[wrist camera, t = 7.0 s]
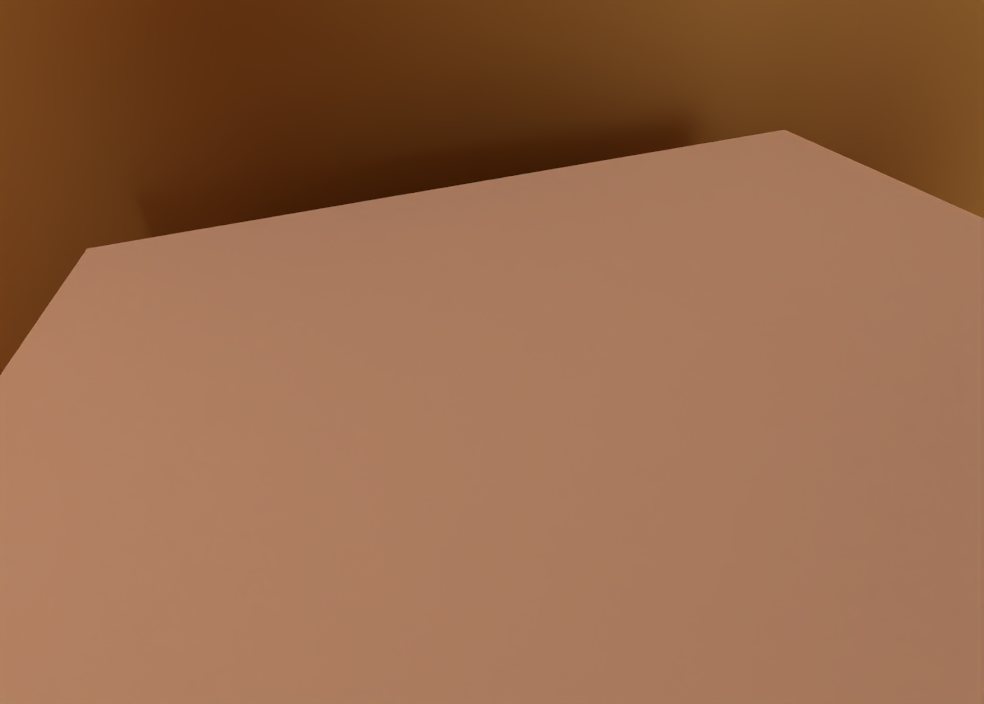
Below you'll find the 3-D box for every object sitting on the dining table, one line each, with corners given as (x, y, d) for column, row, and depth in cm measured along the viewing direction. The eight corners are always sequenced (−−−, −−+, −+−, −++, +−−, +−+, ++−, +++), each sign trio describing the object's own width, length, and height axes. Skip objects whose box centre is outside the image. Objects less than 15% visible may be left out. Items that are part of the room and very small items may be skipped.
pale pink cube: (784, 130, 8) (1861, 611, 2) (729, 574, 12) (1087, 1137, 7) (85, 248, 7) (-766, 1491, 2) (283, 689, 11) (253, 1460, 6)
